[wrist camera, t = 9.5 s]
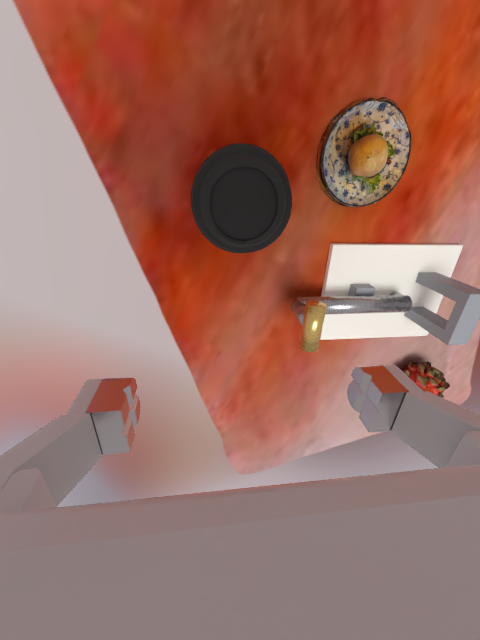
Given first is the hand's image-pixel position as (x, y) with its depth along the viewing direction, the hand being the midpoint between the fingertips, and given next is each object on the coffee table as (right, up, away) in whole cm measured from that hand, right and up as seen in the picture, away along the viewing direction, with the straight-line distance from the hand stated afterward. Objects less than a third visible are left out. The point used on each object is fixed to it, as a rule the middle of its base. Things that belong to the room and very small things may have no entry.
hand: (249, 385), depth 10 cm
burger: (+15, +24, +26) cm, 38 cm away
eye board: (+23, +7, +35) cm, 42 cm away
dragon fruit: (+33, -9, +45) cm, 56 cm away
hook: (+16, +6, +33) cm, 37 cm away
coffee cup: (-2, +19, +26) cm, 32 cm away
